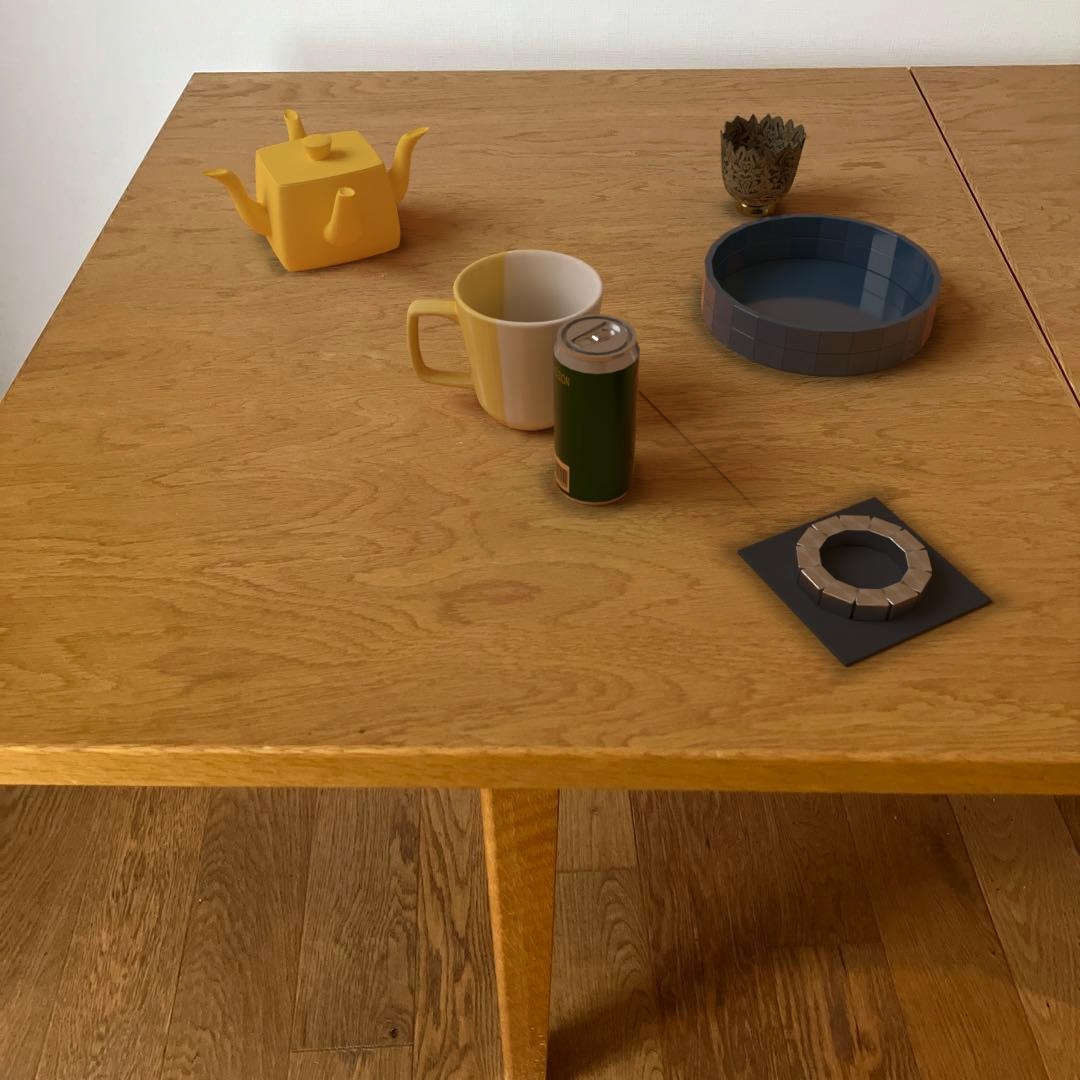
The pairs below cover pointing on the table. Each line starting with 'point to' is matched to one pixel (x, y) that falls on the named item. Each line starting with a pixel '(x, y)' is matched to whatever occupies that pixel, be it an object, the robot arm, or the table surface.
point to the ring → (859, 600)
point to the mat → (866, 571)
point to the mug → (510, 329)
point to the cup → (760, 162)
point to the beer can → (595, 408)
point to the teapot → (324, 196)
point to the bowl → (819, 294)
